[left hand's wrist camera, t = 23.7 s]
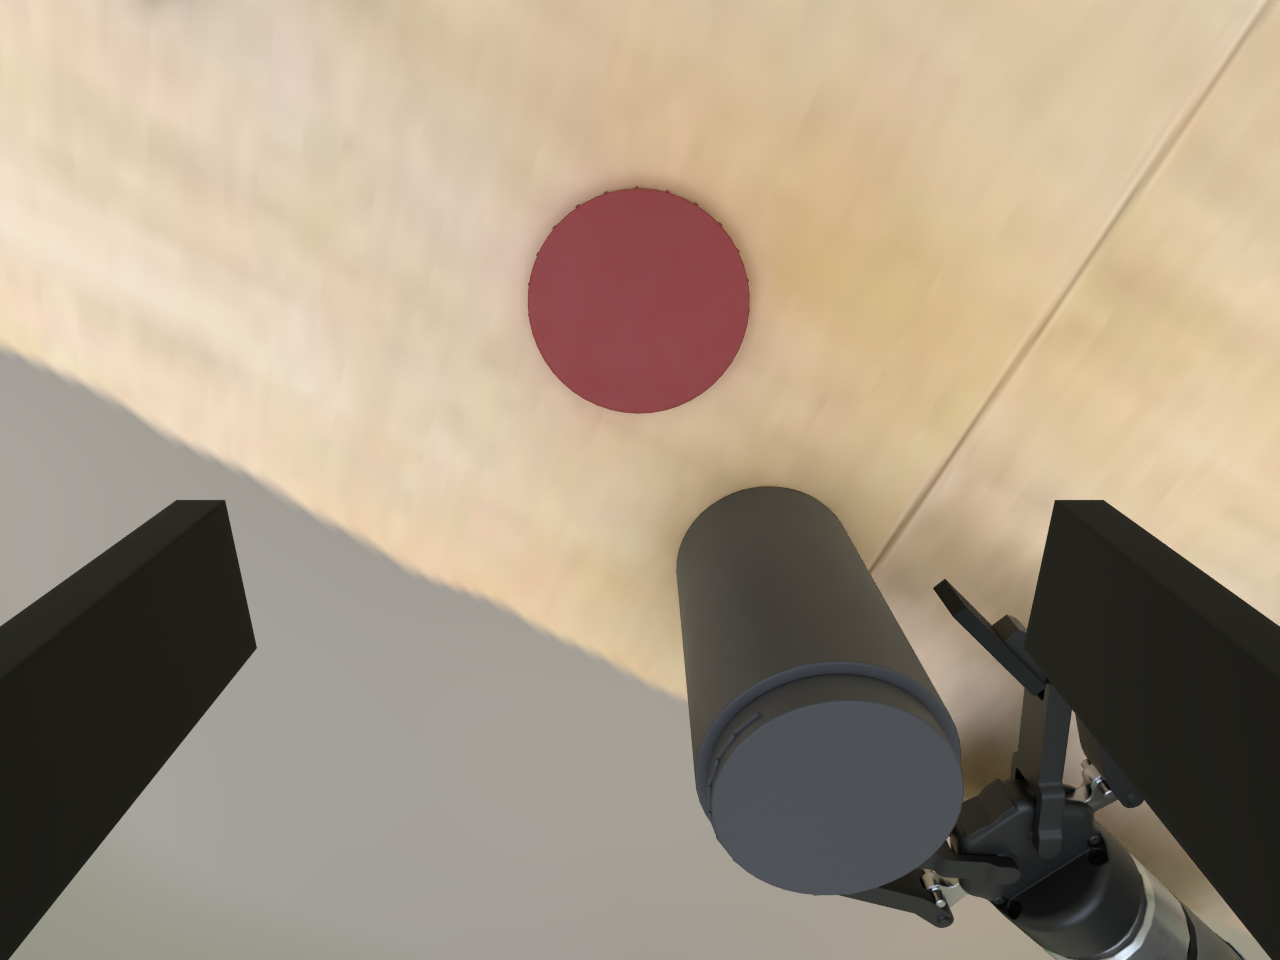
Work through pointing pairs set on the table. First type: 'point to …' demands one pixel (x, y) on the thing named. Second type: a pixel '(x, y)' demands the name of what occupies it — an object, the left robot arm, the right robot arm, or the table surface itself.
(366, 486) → the table surface
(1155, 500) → the table surface
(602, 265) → the lid
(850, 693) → the jar
